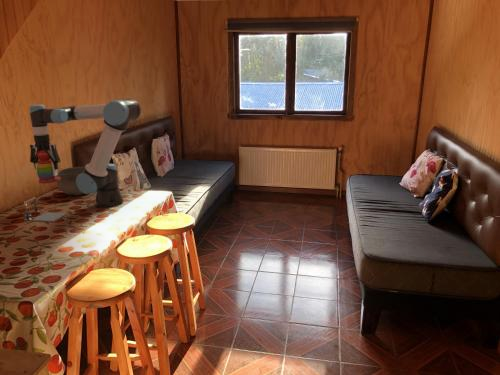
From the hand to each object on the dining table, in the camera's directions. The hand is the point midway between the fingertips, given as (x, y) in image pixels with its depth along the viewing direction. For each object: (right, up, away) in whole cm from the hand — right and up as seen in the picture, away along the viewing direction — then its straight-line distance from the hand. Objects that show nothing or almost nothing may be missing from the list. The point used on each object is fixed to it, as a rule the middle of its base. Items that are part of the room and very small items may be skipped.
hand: (47, 175), depth 232 cm
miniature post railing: (-4, -22, -9) cm, 24 cm away
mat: (+7, -22, -12) cm, 26 cm away
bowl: (+4, -11, +31) cm, 33 cm away
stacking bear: (0, -4, +1) cm, 4 cm away
